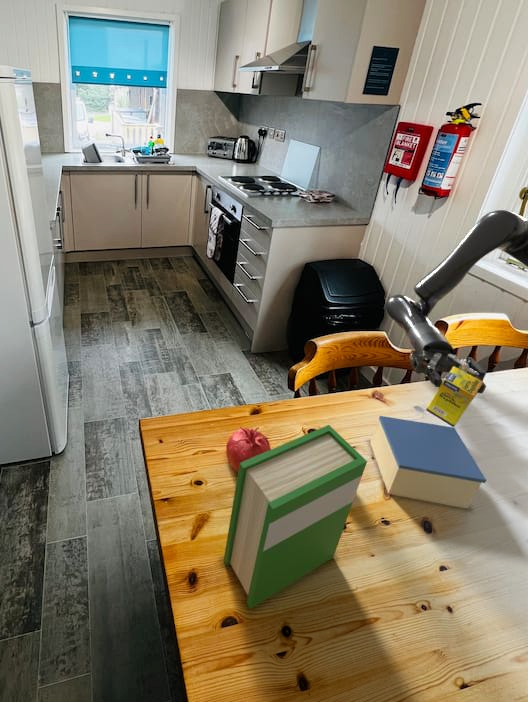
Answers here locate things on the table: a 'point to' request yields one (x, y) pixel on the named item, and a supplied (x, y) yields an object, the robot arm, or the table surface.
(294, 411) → the table surface
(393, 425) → the lid
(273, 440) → the table surface
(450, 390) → the supplement box
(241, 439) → the pomegranate
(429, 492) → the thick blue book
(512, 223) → the robot arm
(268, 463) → the hardback book
